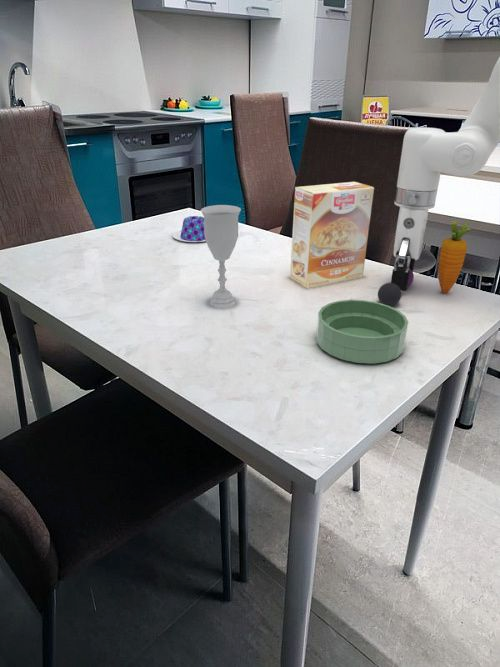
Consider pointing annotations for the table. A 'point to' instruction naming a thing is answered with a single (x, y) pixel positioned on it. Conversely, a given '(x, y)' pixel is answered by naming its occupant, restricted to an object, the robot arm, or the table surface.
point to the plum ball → (410, 278)
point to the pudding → (191, 230)
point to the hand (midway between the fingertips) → (401, 281)
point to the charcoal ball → (389, 294)
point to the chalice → (221, 244)
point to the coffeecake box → (330, 232)
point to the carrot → (452, 257)
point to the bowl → (361, 331)
